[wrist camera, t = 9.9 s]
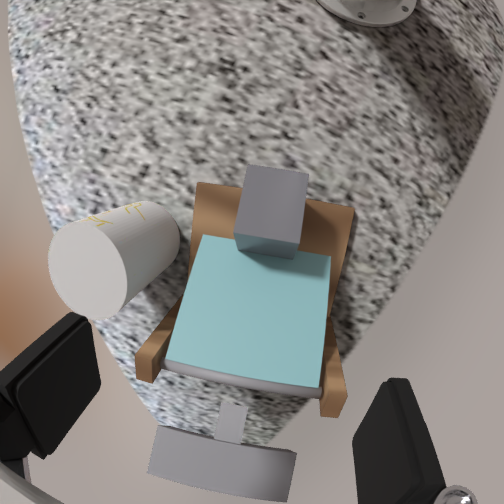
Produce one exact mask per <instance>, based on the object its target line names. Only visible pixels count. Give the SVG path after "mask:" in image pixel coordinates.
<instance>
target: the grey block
mask: <svg viewBox="0 0 504 504" xmlns="http://www.w3.org/2000/svg"><path fill="white" fill-rule="evenodd" d="M308 177H309V174H306V173H301V172H295V171H289V170H283V169H277V168H270V167H264V166H257V165H250V164H248V167H247V171H246V176H245V180H244V185H243V189H242V194H241V198H240V203H239V207H238V212H237V217H236V221H235V226H234V231H233V234H234V238H235V242H236V246H237V249H238V251H244V252H250V253H256V254H262V255H267V256H273V257H279V258H285V259H291V260H293V258H294V256H295V253H296V251H297V249H298V246H299V244H300V237H301V230H302V223H303V216H304V208H305V201H306V193H307V185H308Z"/></svg>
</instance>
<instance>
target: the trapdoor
mask: <svg viewBox="0 0 504 504" xmlns="http://www.w3.org/2000/svg"><path fill="white" fill-rule="evenodd" d="M330 264H331V256H326V255H321V254H315V253H309V252H303V251H298V250H297V251H296V253H295V256H294V258H293V260H291V259H285V258H279V257H273V256H267V255H262V254H256V253H250V252H244V251H238V249H237V246H236V242H235V240H234V239H228V238H222V237H216V236H210V235H204V234H203V236H202V239H201V242H200V245H199V248H198V251H197V255H196V258H195V261H194V264H193V267H192V270H191V273H190V277H189V280H188V283H187V286H186V289H185V293H184V296H183V299H182V303H181V306H180V309H179V313H178V316H177V319H176V323H175V326H174V330H173V333H172V337H171V340H170V344H169V347H168V351H167V354H166V357H162V359H161V362H160V368H161V369H164V370H168V371H172V372H176V373H180V374H183V375H187V376H192V377H196V378H200V379H204V380H209V381H213V382H218V383H222V384H227V385H232V386H237V387H243V388H248V389H253V390H259V391H265V392H271V393H278V394H284V395H291V396H299V397H307V398H315V399H320V397H321V393H322V387H319V380H320V372H321V364H322V355H323V346H324V337H325V327H326V317H327V306H328V293H329V280H330ZM247 410H248V407H244V406H239V405H234V404H229V403H224V402H221V407H220V412H219V416H218V421H217V425H216V430H215V434H214V437H211V436H207V435H203V434H198V433H194V432H190V431H187V430H183V429H179V428H175V427H172V426H162V425H158V427H157V431H156V436H155V440H154V444H153V448H152V453H151V457H150V462H149V466H148V471H147V473H148V474H151V475H154V476H157V477H160V478H164V479H167V480H170V481H174V482H177V483H181V484H185V485H188V486H192V487H196V488H200V489H205V490H209V491H214V492H219V493H224V494H229V495H234V496H240V497H246V498H253V499H260V500H268V501H277V502H287V498H288V494H289V490H290V485H291V480H292V475H293V471H294V466H295V460H296V455H297V453H295V452H293V451H291V450H288V449H279V448H271V447H265V446H258V445H252V444H246V443H241V440H242V435H243V430H244V425H245V420H246V415H247Z"/></svg>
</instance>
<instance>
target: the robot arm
mask: <svg viewBox="0 0 504 504" xmlns="http://www.w3.org/2000/svg"><path fill="white" fill-rule="evenodd" d="M317 1H318V2H319V3H320V4H321V5H322V6H323V7H324V8H326V9H327V10H328V11H330V12H331V13H333V14H335V15H337V16H338V17H340V18H342V19H345V20H347V21H350V22H352V23H356V24H360V25H364V26H371V27H386V26H392V25H395V24H398V23H400V22H402V21H403V20H405V19H406V18H408V16H409V15H410V14H411V13H412V12H413V10H414V8H415V6H416V2H417V0H317ZM359 17H360V18H359ZM361 18H362V19H361ZM100 386H101V379H100V374H99V369H98V364H97V358H96V353H95V347H94V341H93V334H92V327H91V324H90V323H89V322H88V319H87V317H85V316H83V315H80V314H77V313H74V312H70V313H68V314H67V315H66V316H64V317H63V318H62V319H61V320H60V321H58V322H57V323H56V324H55V325H53V326H52V327H51V328H50V329H49V330H47V331H46V332H45V333H44V334H43V335H41V336H40V337H39V338H38V339H37V340H36V341H34V342H33V343H32V344H31V345H30V346H29V347H27V348H26V349H25V350H24V351H23V352H22V353H20V354H19V355H18V356H17V357H16V358H15V359H14V360H13V361H11V363H9V364H8V365H7V366H6V367H5V368H4V369H3V370H2V371H0V504H64V503H62V502H60V501H59V500H57V499H55V498H53V497H52V496H50V495H48V494H47V493H45V492H43V491H42V490H40V489H39V488H37V487H35V486H34V485H32V484H31V478H30V472H29V465H28V458H27V455H28V454H29V453H30V451H31V452H32V453H33V454H35V455H37V456H38V457H40V458H41V459H43V460H44V459H45V457H46V456H47V455H51V454H52V453H53V452H54V451H55V449H56V448H57V447H58V445H59V444H60V442H61V441H62V440H63V438H64V437H65V436H66V434H67V433H68V431H69V430H70V429H71V427H72V426H73V425H74V423H75V422H76V420H77V419H78V418H79V416H80V415H81V414H82V412H83V411H84V410H85V408H86V407H87V406H88V404H89V403H90V402H91V400H92V399H93V397H94V396H95V395H96V394H97V392H98V391H99V389H100ZM352 447H353V456H354V465H355V474H356V485H357V497H358V504H477V500H476V498H475V495H474V494H473V493H472V492H471V491H470V490H469V489H467V488H465V487H462V486H457V485H453V486H450V487H446V484H445V480H444V477H443V473H442V470H441V467H440V464H439V461H438V458H437V455H436V452H435V448H434V446H433V442H432V440H431V437H430V434H429V431H428V428H427V425H426V423H425V421H424V419H423V416H422V413H421V411H420V408H419V405H418V403H417V400H416V397H415V395H414V392H413V390H412V387H411V385H410V382H409V381H408V379H406V378H389V379H388V381H387V382H383V383H382V384H381V386H380V388H379V390H378V392H377V394H376V396H375V398H374V400H373V402H372V404H371V406H370V407H369V409H368V411H367V413H366V415H365V417H364V419H363V420H362V422H361V424H360V426H359V428H358V429H357V431H356V433H355V435H354V437H353V441H352Z"/></svg>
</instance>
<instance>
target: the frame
mask: <svg viewBox="0 0 504 504" xmlns="http://www.w3.org/2000/svg"><path fill="white" fill-rule="evenodd" d="M242 189H243V188H238V187H231V186H224V185H217V184H210V183H202V182H198V183H197V188H196V196H195V205H194V214H193V224H192V234H191V245H190V256H189V268H188V280H189V277H190V273H191V270H192V267H193V264H194V261H195V258H196V255H197V251H198V248H199V245H200V242H201V239H202V236H203V234H204V235H210V236H216V237H222V238H228V239H234V240H235V238H234V234H233V231H234V226H235V221H236V217H237V212H238V207H239V203H240V198H241V194H242ZM354 210H355V209H354V208H352V207H347V206H342V205H337V204H332V203H327V202H322V201H316V200H311V199H306V201H305V208H304V216H303V223H302V230H301V237H300V244H299V246H298V249H297V250H298V251H303V252H309V253H315V254H321V255H326V256H331V264H330V280H329V293H328V306H327V317H326V327H325V337H324V346H323V355H322V364H321V372H320V380H319V387H322V393H321V397H320V399H319V401H320V414H321V416H322V417H333V418H338V417H339V415H340V412H341V410H342V408H343V405H344V403H345V401H346V399H347V390H346V385H345V380H344V375H343V371H342V366H341V361H340V356H339V352H338V347H337V343H336V338H335V334H334V329H333V325H332V321H331V317H330V312H331V308H332V305H333V301H334V297H335V293H336V289H337V286H338V282H339V278H340V273H341V269H342V265H343V261H344V257H345V252H346V248H347V243H348V239H349V234H350V229H351V225H352V220H353V215H354ZM187 283H188V281H187ZM184 293H185V292H184ZM184 293H183V295H182V296H181V297H180V298H179V300H178V301H177V302H176V303H175V305H174V306H173V307H172V308H171V310H170V311H169V312H168V314H167V315H166V316H165V317H164V319H163V320H162V321H161V322H160V324H159V325H158V326H157V327H156V329H155V330H154V331H153V333H152V334H151V335H150V336H149V338H148V339H147V340H146V341H145V343H144V344H143V345H142V347H141V348H140V349H139V350H138V352H137V353H136V354H135V367H136V379H139V380H142V381H145V382H148V383H152V384H153V382H154V380H155V379H156V377H157V375H158V374H159V372H160V371H161V368H160V362H161V359H162V357H166V354H167V351H168V347H169V344H170V340H171V337H172V333H173V330H174V326H175V323H176V319H177V316H178V313H179V309H180V306H181V303H182V299H183V296H184Z"/></svg>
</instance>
